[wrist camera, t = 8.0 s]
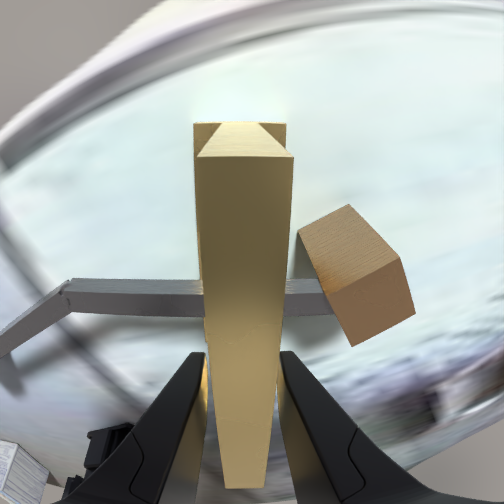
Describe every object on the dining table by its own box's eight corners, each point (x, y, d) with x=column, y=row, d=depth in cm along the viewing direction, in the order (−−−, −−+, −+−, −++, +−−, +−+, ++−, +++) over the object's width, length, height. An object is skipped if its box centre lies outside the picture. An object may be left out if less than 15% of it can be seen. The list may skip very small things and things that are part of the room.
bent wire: (367, 249, 17) (415, 313, 12) (39, 397, 23) (17, 446, 17) (296, 97, 14) (333, 94, 8) (-28, 327, 19) (-62, 371, 14)
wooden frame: (272, 328, 20) (294, 485, 10) (206, 329, 19) (194, 487, 10) (282, 122, 14) (368, 161, 5) (196, 121, 14) (120, 160, 5)
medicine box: (0, 438, 28) (-19, 483, 20) (18, 443, 28) (-1, 491, 20) (31, 466, 32) (18, 508, 24) (50, 471, 31) (37, 516, 24)
